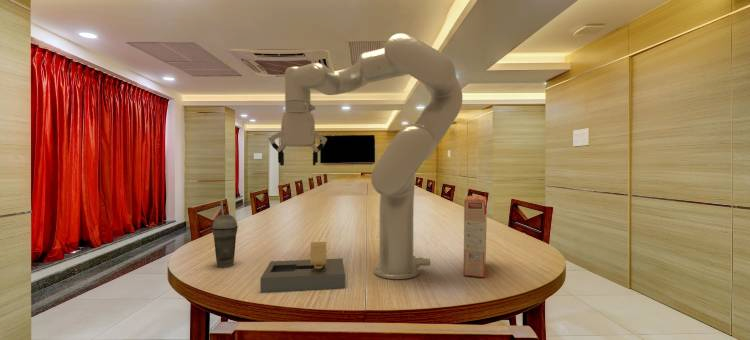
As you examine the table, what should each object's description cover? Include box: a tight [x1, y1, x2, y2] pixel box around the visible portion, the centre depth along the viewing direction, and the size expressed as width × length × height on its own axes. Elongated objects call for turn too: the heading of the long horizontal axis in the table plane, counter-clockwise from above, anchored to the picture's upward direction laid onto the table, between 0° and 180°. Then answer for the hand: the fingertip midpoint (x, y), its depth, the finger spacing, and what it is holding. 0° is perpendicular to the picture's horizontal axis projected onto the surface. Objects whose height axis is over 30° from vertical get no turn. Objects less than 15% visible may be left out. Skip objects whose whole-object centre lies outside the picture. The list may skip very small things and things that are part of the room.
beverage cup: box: [211, 199, 239, 269], centre depth 101 cm, size 7×7×20 cm
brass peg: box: [310, 241, 327, 269], centre depth 88 cm, size 4×4×10 cm
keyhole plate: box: [259, 258, 346, 293], centre depth 88 cm, size 20×14×4 cm
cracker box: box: [463, 195, 488, 279], centre depth 96 cm, size 14×6×21 cm, turn 161°
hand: (298, 165), depth 102 cm, fingers open, 9 cm apart
